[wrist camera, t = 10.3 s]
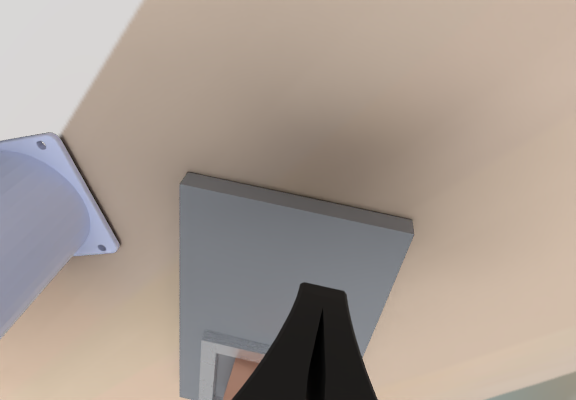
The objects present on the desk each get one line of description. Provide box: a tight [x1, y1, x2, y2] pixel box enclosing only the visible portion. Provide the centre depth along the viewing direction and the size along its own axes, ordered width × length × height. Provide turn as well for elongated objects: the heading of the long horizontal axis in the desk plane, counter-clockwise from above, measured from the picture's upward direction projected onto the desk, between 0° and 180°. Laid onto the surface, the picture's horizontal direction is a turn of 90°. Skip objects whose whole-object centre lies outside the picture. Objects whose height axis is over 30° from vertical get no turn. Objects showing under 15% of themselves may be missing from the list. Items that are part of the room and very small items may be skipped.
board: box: [180, 172, 414, 400], centre depth 27 cm, size 20×12×1 cm, turn 171°
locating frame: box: [199, 330, 271, 400], centre depth 30 cm, size 8×8×1 cm
